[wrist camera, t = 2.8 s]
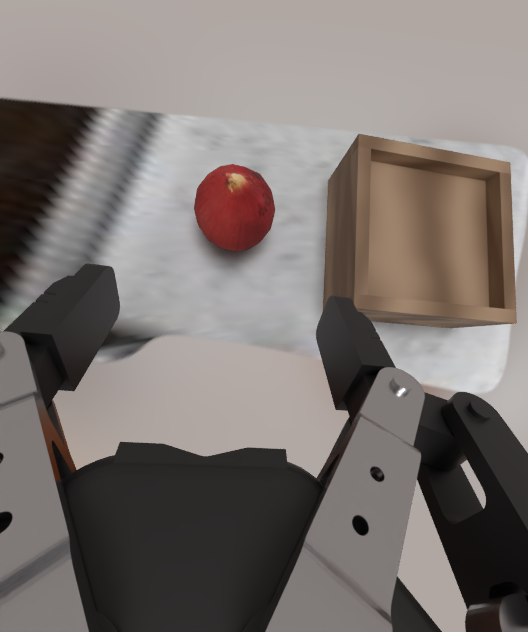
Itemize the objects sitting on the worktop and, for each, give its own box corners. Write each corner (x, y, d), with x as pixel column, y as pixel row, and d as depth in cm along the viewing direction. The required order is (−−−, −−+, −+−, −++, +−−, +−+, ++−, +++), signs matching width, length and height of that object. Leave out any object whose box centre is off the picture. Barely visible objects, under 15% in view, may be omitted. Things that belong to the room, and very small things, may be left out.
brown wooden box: (321, 317, 25) (353, 308, 19) (327, 182, 26) (358, 133, 20) (449, 328, 27) (516, 323, 21) (448, 201, 28) (510, 162, 22)
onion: (241, 187, 25) (251, 113, 17) (278, 240, 25) (305, 191, 17) (185, 220, 24) (168, 157, 16) (224, 275, 24) (226, 240, 16)
